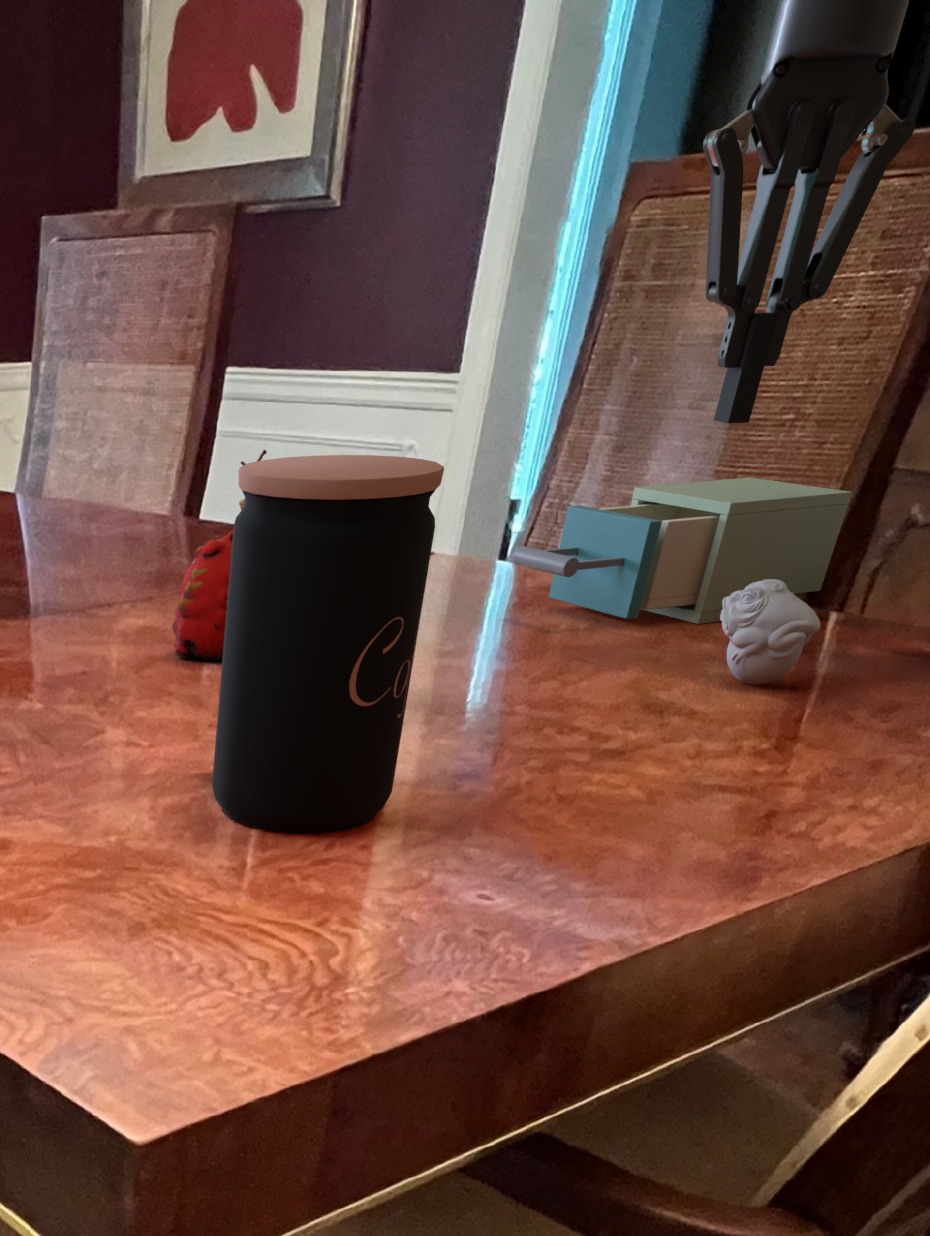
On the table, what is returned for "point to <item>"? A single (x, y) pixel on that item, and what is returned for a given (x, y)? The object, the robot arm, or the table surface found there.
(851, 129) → the robot arm
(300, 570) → the coffee jar
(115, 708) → the table surface
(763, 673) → the frog figurine
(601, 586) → the drawer
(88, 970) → the table surface
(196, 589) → the red clay folk toy
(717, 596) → the cabinet
